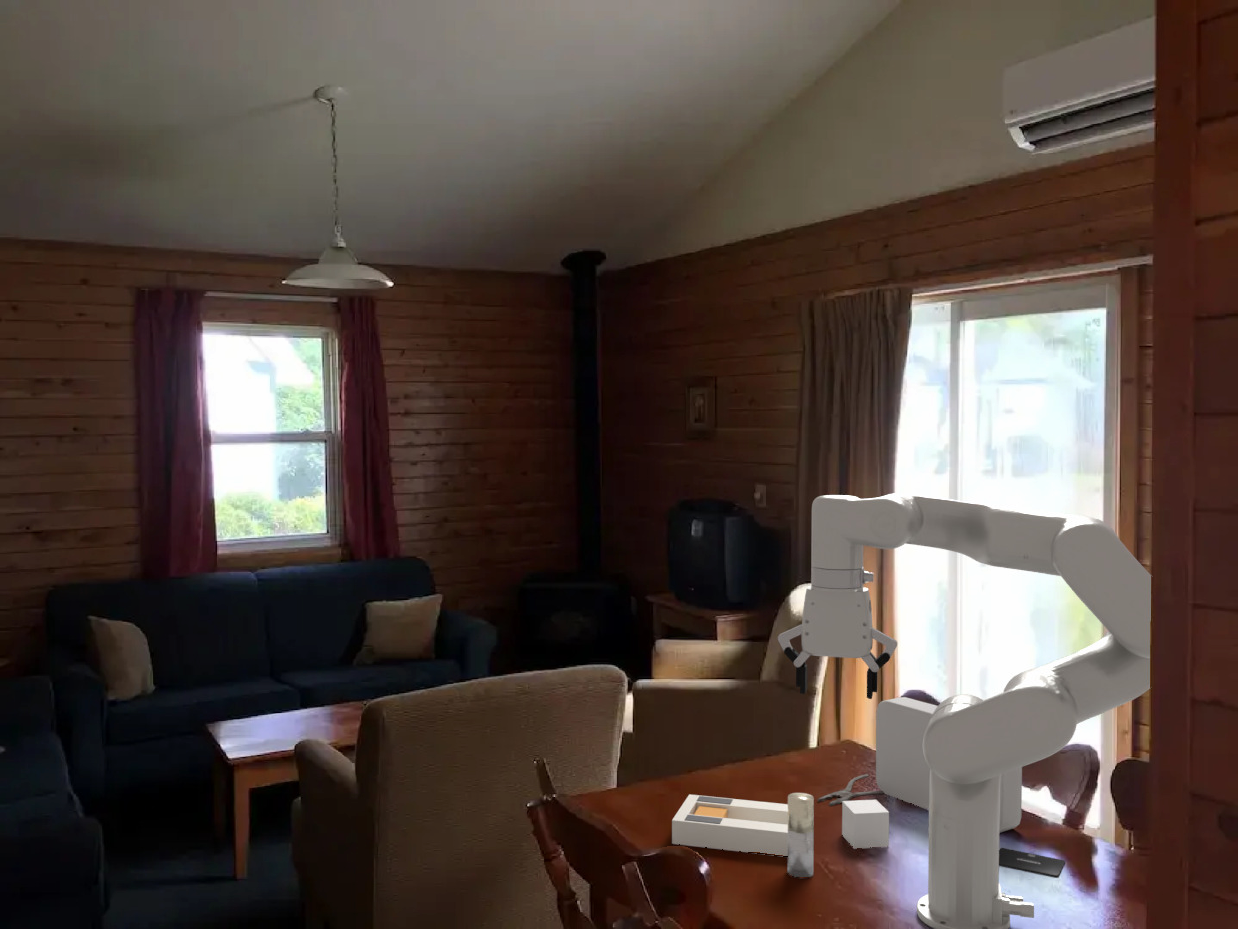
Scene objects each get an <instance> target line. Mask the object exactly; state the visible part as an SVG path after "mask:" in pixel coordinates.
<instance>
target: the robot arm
mask: <svg viewBox="0 0 1238 929" xmlns="http://www.w3.org/2000/svg"><path fill="white" fill-rule="evenodd" d="M905 544H906V545H915V546H921V547H928V548H935V549H940V550H946V551H950V552H955V553H958V554H961V555H963V556H964V555H965V556H966V557H968V558H970V559H972V560H974V561H976V562H978V563H981V564H984V565H987V566H990V567H997V568H1004V569H1012V570H1018V571H1020V570H1021V571H1026V572H1030V573H1031V572H1032V573H1039V574H1044V575H1050V576H1056V577H1057V576H1058V577H1061V578H1062V579H1063V581H1064V582H1065V583H1066V584H1067V586H1068V587H1069V588H1070V589H1071V590H1072V591H1073V593H1074V594H1075V595H1076V596H1077V598H1078V599H1079V600H1080V601H1081V602H1082V603H1083V604H1084V605H1085V607H1087V609H1088V610H1089V611H1090V612H1091V613H1092V614H1093V615H1094V616H1095V618H1096V619H1097V620H1098V621H1099V623H1101V624H1102V625H1103V627H1105V628H1106V630H1107V632H1106V633H1105V634H1104V635H1103V637H1101V638H1100V639H1098V640H1097V641H1096V642H1094V643H1092V644H1090V645H1089V646H1086V647H1084V648H1082V649H1079V650H1077V651H1075V652H1073V653H1071V654H1069V655H1066V656H1064V657H1061V658H1058V659H1056V660H1054V661H1053V660H1052V661H1050V662H1048V663H1045V664H1043V665H1042V664H1041V665H1040V666H1038V667H1034V668H1031V669H1028V670H1026V671H1025V670H1024V671H1022V672H1020V673H1018V674H1016V675H1014V676H1013V677H1012V678H1011V679H1010V680H1009V681H1008V682H1007V684H1006V685H1005V687H1004V689H1003V692H1001V693H999V694H995V695H994V696H992V697H989V698H986V699H982V698H980V697H979V696H976V695H972V694H962V693H961V694H956V695H952V696H950V697H947V698H946V699H944V700H943V701H942V702H940V703H939V704H938V705H937V706H938V707H937V708H936V709H935V711H934V712H933V714H932V716H931V718H930V721H929V723H928V726H927V729H926V731H925V734H924V738H923V754H924V758H925V760H926V762H927V764H928V766H929V767H930V786H929V810H928V858H927V859H928V861H927V862H928V869H927V872H928V873H927V874H928V879H927V880H928V881H927V883H928V886H927V894H925V895H924V896H922V897H920V898H919V900H917V903H916V913H917V916H918V918H919V919H920V920H921V921H922V922H923V923H924V924H926V925H927V926H928V927H930V928H931V929H1009V928H1010V925H1011V915H1012V916H1018V917H1019V916H1020V917H1021V918H1030V919H1034V918H1035V906H1034V903H1033V902H1027V901H1026V902H1024V896H1020V895H1006V892H1002V889H1001V883H1000V882H999V880H1000V866H999V850H1000V833H999V819H1000V777H1001V774H1004V773H1007V772H1010V771H1012V770H1015V769H1018V768H1021V767H1022V768H1023V767H1025V766H1029V765H1031V764H1034V763H1036V762H1039V761H1042V760H1044V759H1047V758H1050V757H1051V756H1053V755H1055V754H1057V753H1058V752H1059V751H1061V750H1062V749H1063V748H1065V747H1066V746H1067V745H1068V744H1069V742H1070V741H1072V739H1073V736H1074V735H1075V733H1076V730H1077V725H1078V724H1080V723H1083V722H1085V721H1087V720H1089V719H1090V720H1091V718H1095V717H1097V716H1100V715H1102V714H1105V713H1106V712H1109V711H1111V710H1113V709H1115V708H1118V707H1120V706H1123V705H1125V704H1127V703H1129V702H1131V701H1133V700H1135V699H1137V698H1138V697H1140V696H1142V695H1143V694H1144V693H1146V692H1147V691H1148V690H1150V689H1151V688H1150V621H1151V576H1152V574H1151V573H1149V571H1148V570H1146V568H1145V567H1144V566H1143V565H1142V564H1141V563H1140V562H1139V561H1138V560H1137V558H1136V557H1135V556H1134V555H1133V554H1132V552H1130V550H1129V549H1128V548H1127V547H1126V545H1125V544H1124V543H1123V542H1122V541H1121V539H1120V538H1119V536H1118V534H1117V533H1116V531H1115V529H1113V527H1112V526H1110V524H1108V523H1106V522H1105V521H1103V520H1101V519H1099V518H1095V517H1092V516H1091V517H1090V516H1085V515H1079V514H1078V515H1077V514H1070V513H1069V514H1068V513H1060V512H1053V511H1047V510H1046V511H1045V510H1039V509H1038V510H1037V509H1029V508H1021V507H1013V506H1007V505H1001V504H1000V505H999V504H991V503H985V502H984V503H981V502H980V503H979V502H969V501H962V500H961V501H960V500H955V499H948V498H940V497H933V496H926V495H925V496H924V495H917V494H910V493H902V492H901V493H899V492H898V493H897V492H896V493H895V492H894V493H888V494H886V495H882V496H879V497H872V498H871V497H870V498H859V496H855V495H847V494H845V495H843V494H829V495H828V494H826V495H819V496H817V497H816V498H814V500H813V501H812V504H811V549H810V550H811V557H810V558H811V562H810V563H811V569H810V570H811V575H810V577H811V578H810V580H811V581H810V584H811V585H808V586H807V587H806V590H805V596H804V602H803V609H802V623H801V624H799V625H796V626H794V627H792V628H790V629H788V630H786V631H784V632H782V633H779V635H778V636H777V641H778V643H779V645H780V647H781V649H782V650H783V652H784V655H785V656H786V657H787V658H788V659H789V660H790V661H791V662H792V663H793V665H794V666H795V686H796V688H799V694H800V695H805V694H806V693H807V691H808V664H807V662H806V661H807V660H808V659H809V658H810V657H811V656H814V657H815V656H816V657H826V658H827V657H830V658H846V659H847V658H848V659H862V661H863V662H864V663H865V665H866V666H867V667H868V668H867V671H866V698H867V699H868V700H872V699H873V694H874V693H878V685H879V684H878V682H879V681H878V679H879V678H878V677H879V676H878V675H879V674H878V672H879V670H880V669H881V668H882V667H883V666H884V665H886V664H887V663H888V662H889V661H890V660H891V658H892V656H893V654H894V653H895V651H896V649H897V647H898V641H897V640H896V639H894V638H893V637H890V636H889V635H887V634H885V633H883V632H882V631H880V630H878V629H877V628H875V627H873V612H872V602H871V601H872V600H871V596H870V594H871V593H870V590H869V588H868V587H864V585H866V583H869V582H870V583H871V582H872V583H873V582H874V572H869V571H866V569H865V567H864V546H865V547H870V548H874V549H876V548H877V549H881V550H892V549H897V548H900V547H902V546H903V545H905ZM798 636H801V650H802V651H800V652H798V651H797V650H796V649H795V648H794V647H793V646H792V644H791V642H790V640H792V639H794V638H796V637H798ZM874 640H875V641H876V642H878V643H881V644H882V645H883V646H885V648H884V650H883V652H882V653H881V654H879V655H878V657H876V656H875V655H874V653H872V649H873V643H874Z"/></svg>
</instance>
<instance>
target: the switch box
mask: <svg viewBox="0 0 1238 929" xmlns="http://www.w3.org/2000/svg"><path fill="white" fill-rule="evenodd" d="M699 806H705V807H714V808H724V809H728V813H727V818H720V817H711V816H702V815H694V814H695V812H696V811H697V809H698V807H699ZM671 844H673V845H679V844H680V845H679V846H688V847H697V848H705V847H707V849H715V850H722V849H723V850H724V851H732V852H739V851H741V852H742V853H748V852H760V853H767V854H775V855H783V856H788V803H777V802H769V801H758V800H748V799H739V798H738V799H736V798H729V797H720V796H719V797H718V796H717V797H716V796H710V795H709V796H708V795H701V794H700V795H698V794H691V793H690V794H688V796H686V799H685V800H684V801H683V803H682V805H681V806H680V808H679V809H678V811H677V812H676V813H675V815H674V817H673V818H672V820H671ZM783 856H782V857H783Z"/></svg>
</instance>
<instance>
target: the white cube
mask: <svg viewBox="0 0 1238 929" xmlns="http://www.w3.org/2000/svg"><path fill="white" fill-rule="evenodd" d="M841 807H842V808H841V809H842V813H841V815H842V816H841V819H842V820H841V821H842V822H841V836H842V835H843V836H842V837H843V838H844V839H845V840H846V841H847V843H848V844H849V843H850V844H849V845H850V846H851V847H852V846H853V847H852V848H853V849H854V850H856V849H857V848H862V849H873V848H872V847H881V848H887V847H886V846H889V845H890V839H889V838H890V833H889V832H890V812H889V810H888V809H887V808H885V807H884V805H882V804H881V803H880V802H879V801H878V800H877V799H861V800H848V801H842V806H841ZM870 847H871V848H870ZM889 847H890V846H889Z"/></svg>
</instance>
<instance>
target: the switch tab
mask: <svg viewBox="0 0 1238 929" xmlns="http://www.w3.org/2000/svg"><path fill="white" fill-rule="evenodd" d="M727 813H728V809H724V808H714V807H705V806H699V807H698V809H697V811H696V812H695V814H694V815H702V816H711V817H720V818H727Z"/></svg>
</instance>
